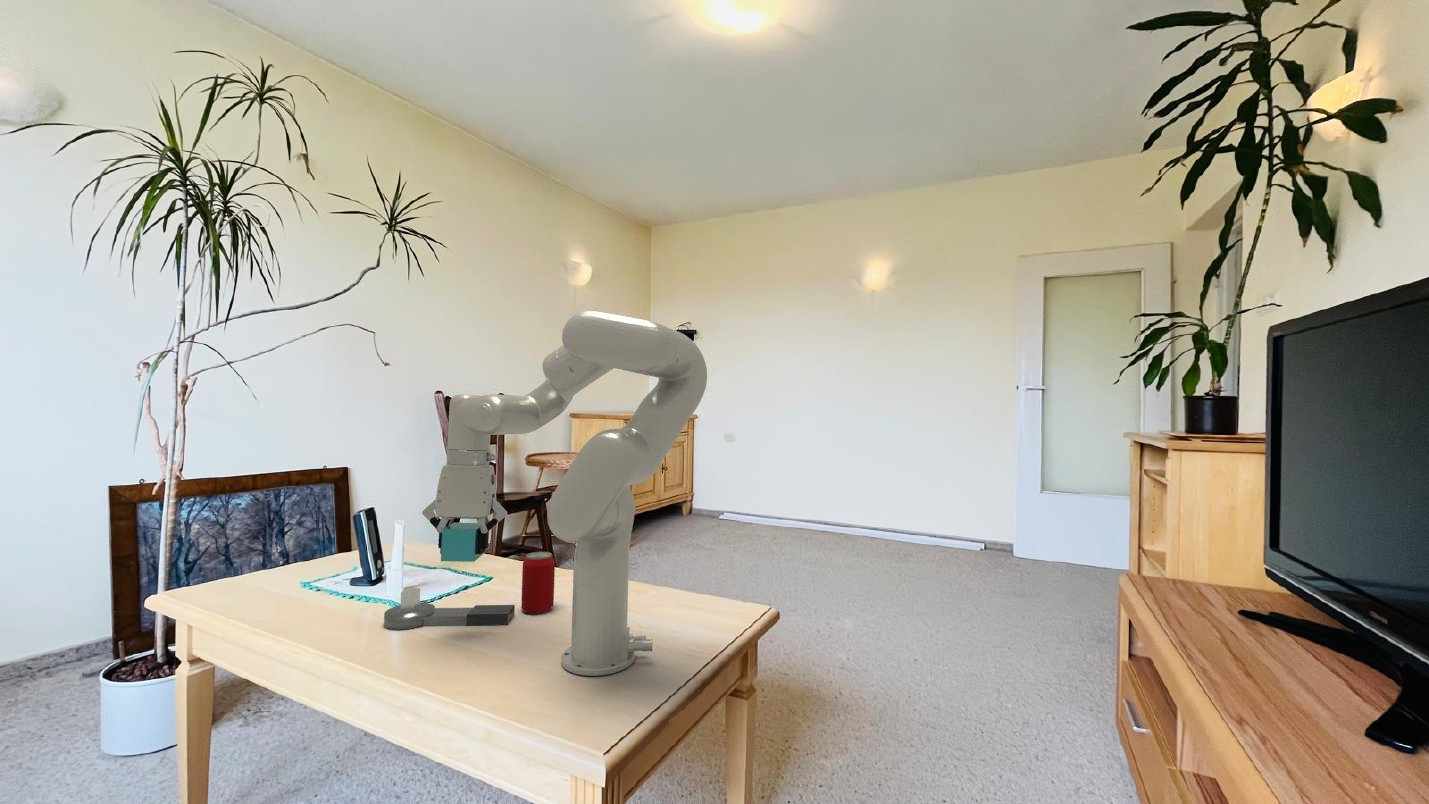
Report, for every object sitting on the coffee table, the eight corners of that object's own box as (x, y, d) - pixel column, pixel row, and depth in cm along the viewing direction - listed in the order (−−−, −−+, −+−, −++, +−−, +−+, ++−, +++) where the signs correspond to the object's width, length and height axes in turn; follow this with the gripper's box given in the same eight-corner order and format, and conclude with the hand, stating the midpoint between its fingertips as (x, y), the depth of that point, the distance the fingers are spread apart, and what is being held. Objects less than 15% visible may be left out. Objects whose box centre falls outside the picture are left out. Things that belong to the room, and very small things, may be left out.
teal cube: (484, 553, 108) (485, 523, 108) (474, 561, 102) (475, 529, 102) (452, 553, 108) (454, 522, 108) (440, 561, 102) (442, 528, 102)
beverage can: (558, 605, 122) (559, 551, 123) (546, 616, 116) (547, 559, 116) (529, 604, 123) (531, 550, 123) (515, 614, 116) (517, 557, 117)
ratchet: (516, 613, 117) (517, 582, 118) (504, 629, 109) (506, 596, 109) (396, 615, 115) (398, 583, 115) (374, 631, 106) (376, 597, 106)
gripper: (519, 458, 110) (514, 548, 110) (429, 455, 108) (424, 547, 108) (509, 461, 103) (504, 558, 102) (412, 458, 101) (407, 557, 100)
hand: (463, 551), depth 105 cm, fingers closed on teal cube, 6 cm apart
